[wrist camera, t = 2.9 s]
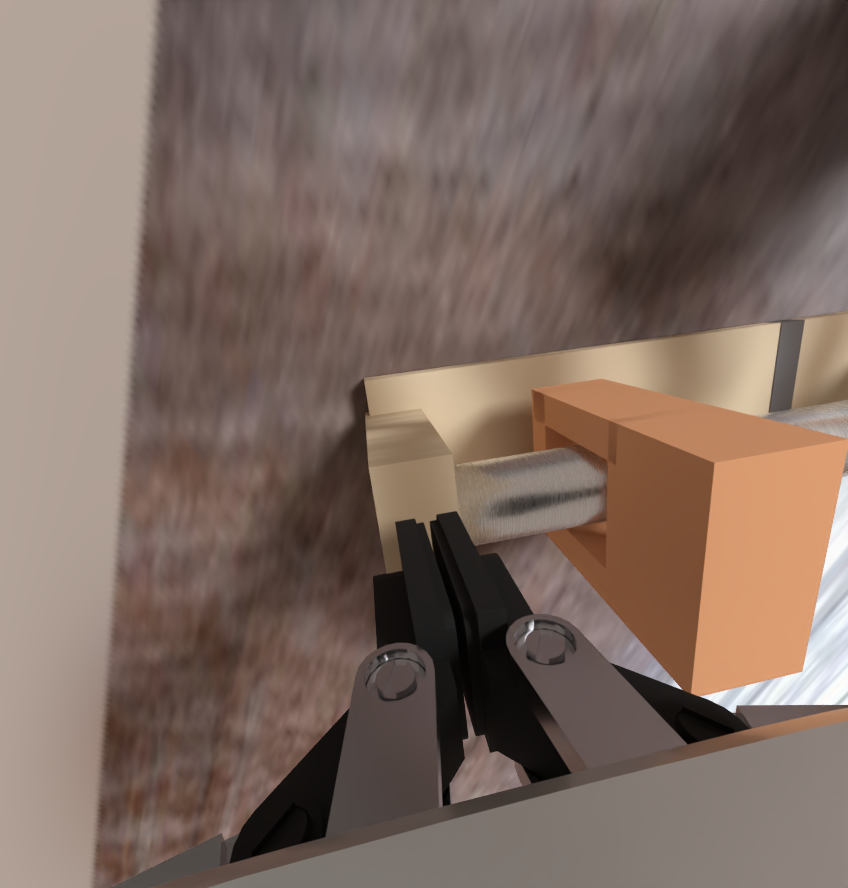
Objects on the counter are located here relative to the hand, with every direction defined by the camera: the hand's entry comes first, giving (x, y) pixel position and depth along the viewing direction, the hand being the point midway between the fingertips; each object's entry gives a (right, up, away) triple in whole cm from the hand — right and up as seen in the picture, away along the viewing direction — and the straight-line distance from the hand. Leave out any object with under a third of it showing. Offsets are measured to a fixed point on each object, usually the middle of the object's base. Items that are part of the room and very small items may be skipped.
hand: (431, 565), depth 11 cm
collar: (+6, +3, +7) cm, 9 cm away
